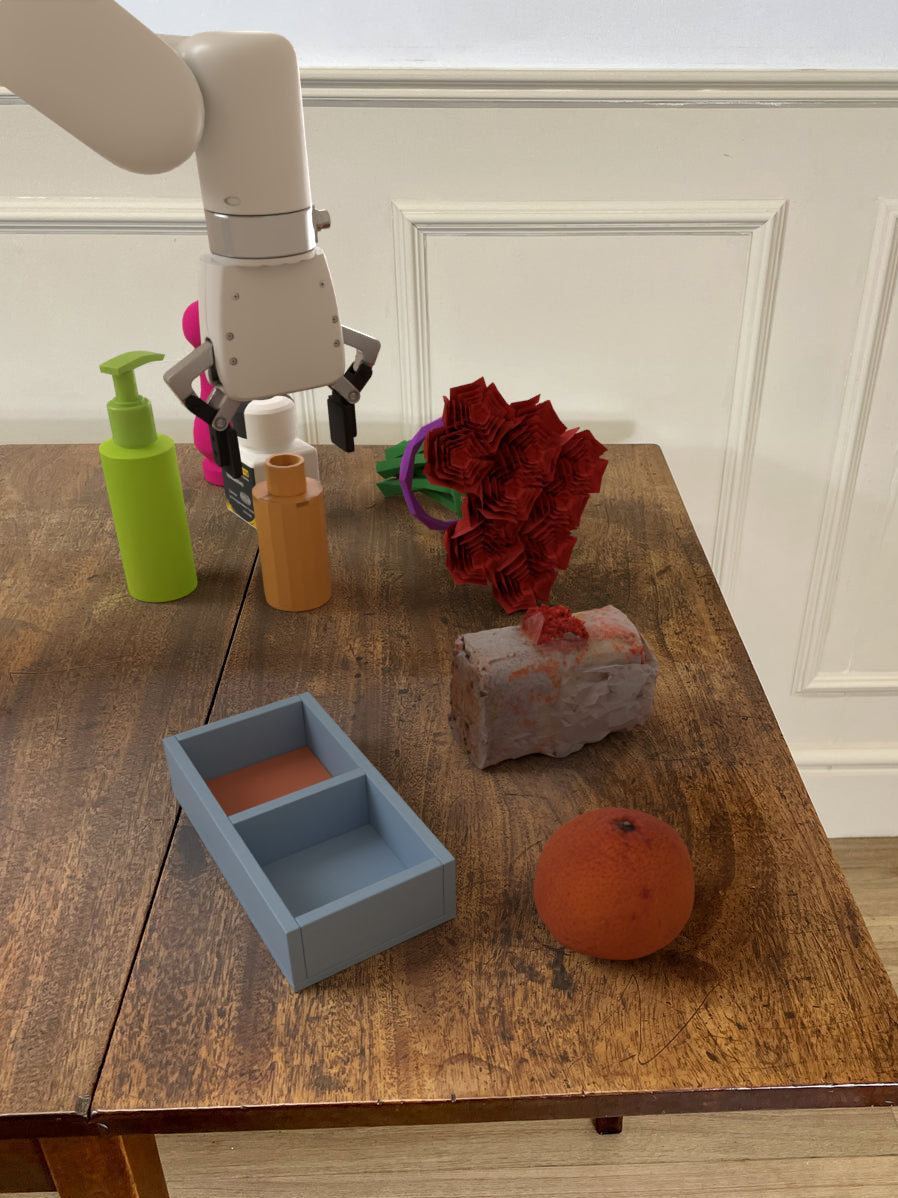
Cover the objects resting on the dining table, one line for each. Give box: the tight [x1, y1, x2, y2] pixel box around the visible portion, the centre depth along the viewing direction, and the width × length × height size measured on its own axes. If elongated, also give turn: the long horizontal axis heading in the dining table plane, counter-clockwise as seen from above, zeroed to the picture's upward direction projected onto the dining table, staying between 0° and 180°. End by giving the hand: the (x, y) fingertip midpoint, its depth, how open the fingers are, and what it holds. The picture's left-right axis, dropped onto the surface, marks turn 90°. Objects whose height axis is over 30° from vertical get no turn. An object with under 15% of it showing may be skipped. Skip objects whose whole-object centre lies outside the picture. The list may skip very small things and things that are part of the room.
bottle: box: [252, 453, 333, 613], centre depth 87 cm, size 6×6×12 cm
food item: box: [447, 603, 660, 770], centre depth 72 cm, size 14×8×10 cm, turn 115°
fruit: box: [532, 806, 696, 961], centre depth 58 cm, size 9×9×8 cm
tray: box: [161, 691, 457, 993], centre depth 63 cm, size 10×19×5 cm, turn 34°
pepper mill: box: [181, 299, 232, 487], centre depth 107 cm, size 7×7×20 cm
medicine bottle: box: [221, 394, 321, 530], centre depth 101 cm, size 7×7×12 cm
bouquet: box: [375, 375, 609, 615], centre depth 97 cm, size 20×16×30 cm
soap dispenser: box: [98, 350, 199, 603], centre depth 87 cm, size 6×7×20 cm
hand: (288, 459), depth 84 cm, fingers open, 9 cm apart
